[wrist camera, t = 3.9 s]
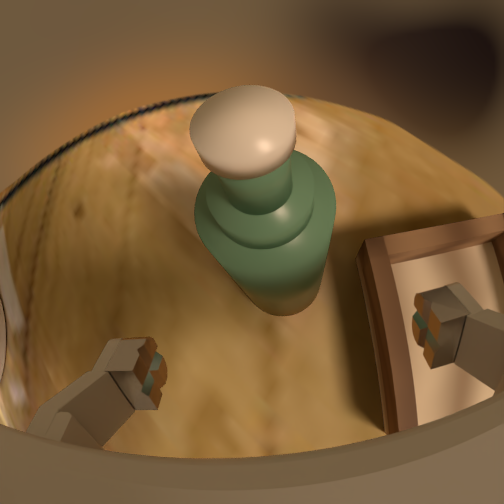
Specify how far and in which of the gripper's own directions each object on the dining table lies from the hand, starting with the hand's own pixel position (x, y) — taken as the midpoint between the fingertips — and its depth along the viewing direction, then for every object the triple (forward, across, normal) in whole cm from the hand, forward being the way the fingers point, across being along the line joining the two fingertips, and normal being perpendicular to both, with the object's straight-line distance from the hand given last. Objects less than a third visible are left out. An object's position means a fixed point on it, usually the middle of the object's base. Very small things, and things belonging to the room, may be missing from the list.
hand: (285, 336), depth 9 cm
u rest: (+8, -11, +9) cm, 16 cm away
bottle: (+12, 0, +5) cm, 13 cm away
